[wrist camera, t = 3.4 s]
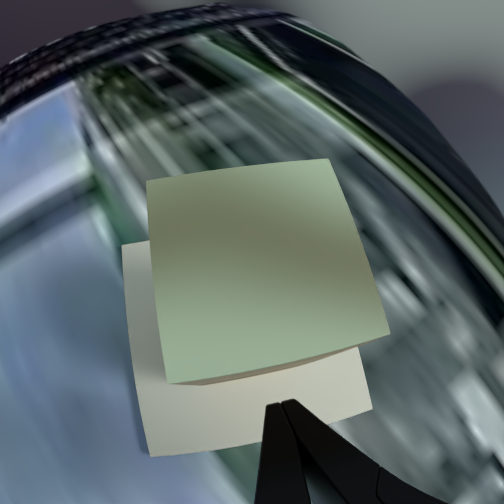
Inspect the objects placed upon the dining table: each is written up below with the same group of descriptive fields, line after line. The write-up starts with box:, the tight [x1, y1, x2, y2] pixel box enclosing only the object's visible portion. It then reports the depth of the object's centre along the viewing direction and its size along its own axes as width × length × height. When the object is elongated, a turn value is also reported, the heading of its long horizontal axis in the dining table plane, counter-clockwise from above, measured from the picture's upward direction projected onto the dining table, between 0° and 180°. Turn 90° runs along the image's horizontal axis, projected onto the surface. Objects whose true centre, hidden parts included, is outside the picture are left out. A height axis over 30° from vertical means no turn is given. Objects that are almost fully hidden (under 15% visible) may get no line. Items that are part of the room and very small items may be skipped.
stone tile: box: [122, 241, 372, 457], centre depth 17 cm, size 12×12×1 cm
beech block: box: [146, 159, 390, 386], centre depth 12 cm, size 5×5×10 cm
